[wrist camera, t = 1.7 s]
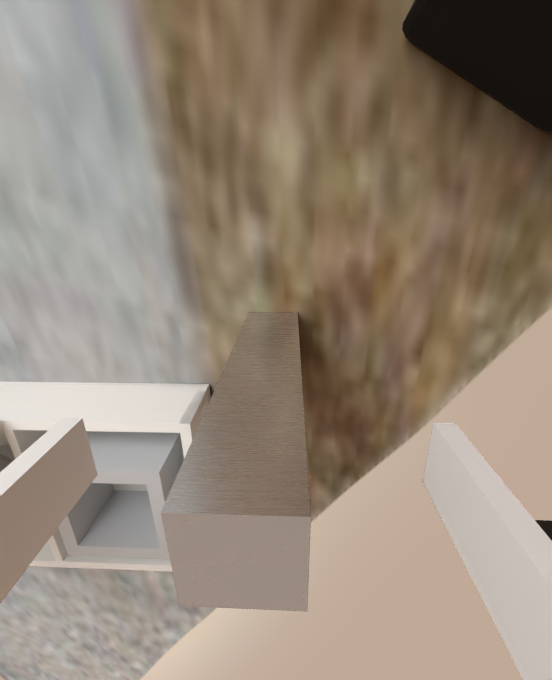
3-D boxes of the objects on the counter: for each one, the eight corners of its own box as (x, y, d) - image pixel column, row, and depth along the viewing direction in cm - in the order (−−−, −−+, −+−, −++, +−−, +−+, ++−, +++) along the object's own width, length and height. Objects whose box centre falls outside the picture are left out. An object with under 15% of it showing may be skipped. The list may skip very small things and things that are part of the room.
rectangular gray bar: (248, 312, 22) (160, 512, 7) (297, 312, 22) (311, 517, 7) (250, 356, 23) (179, 605, 8) (297, 356, 23) (307, 611, 8)
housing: (-63, 381, 25) (-163, 427, 20) (209, 383, 24) (184, 434, 19) (-4, 509, 30) (-70, 575, 25) (222, 516, 29) (206, 586, 24)
